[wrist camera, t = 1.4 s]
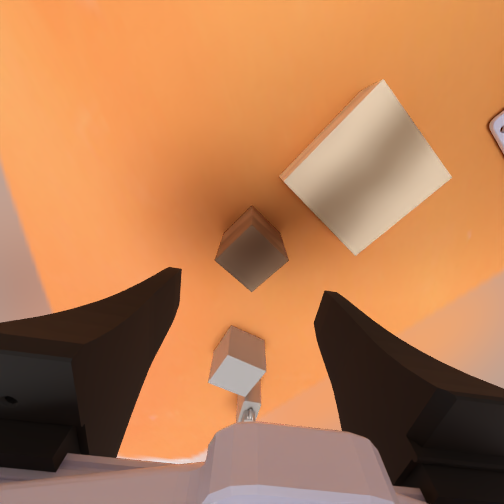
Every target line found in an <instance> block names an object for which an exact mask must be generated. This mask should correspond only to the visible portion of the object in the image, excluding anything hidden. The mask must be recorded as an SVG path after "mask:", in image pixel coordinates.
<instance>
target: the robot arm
mask: <svg viewBox="0 0 504 504" xmlns="http://www.w3.org/2000/svg"><path fill="white" fill-rule="evenodd" d="M502 126H503V130H502V131H501V132H500V129H501V127H502ZM489 128H490V130H491V132H492V134H493V136H494V138H495V139H496V141H497V143H498V145H499V147H500V148H501V150H502V152H503V154H504V110H503V111H502V112H501V113H500V114H498V115H497V116H496V117H495V118H493V120H492V121H491V122H490V125H489ZM181 271H182V269H179V268H172V267H168V268H166V269H164V270H162V271H161V272H159V273H157V274H155V275H154V276H152V277H150V278H148V279H146V280H145V281H143V282H141V283H139V284H137V285H135V286H133V287H131V288H129V289H127V290H125V291H122V292H120V293H118V294H115V295H113V296H110V297H108V298H105V299H102V300H100V301H97V302H94V303H90V304H87V305H84V306H80V307H77V308H74V309H70V310H66V311H62V312H58V313H53V314H48V315H44V316H39V317H33V318H27V319H21V320H15V321H9V322H2V323H0V504H504V389H503V388H500V387H498V386H496V385H493V384H490V383H488V382H486V381H483V380H481V379H478V378H476V377H473V376H470V375H468V374H466V373H464V372H462V371H460V370H457V369H455V368H453V367H451V366H449V365H447V364H444V363H442V362H440V361H438V360H436V359H434V358H433V357H431V356H429V355H427V354H425V353H423V352H421V351H419V350H418V349H416V348H414V347H412V346H411V345H409V344H407V343H406V342H404V341H402V340H401V339H399V338H398V337H396V336H395V335H393V334H392V333H390V332H389V331H387V330H386V329H384V328H383V327H382V326H380V325H379V324H377V323H376V322H375V321H373V320H372V319H371V318H369V317H368V316H367V315H366V314H364V313H363V312H362V311H360V310H359V309H358V308H357V307H355V306H354V305H353V304H352V303H350V302H349V301H348V300H347V299H345V298H344V297H343V296H341V295H340V294H338V293H337V292H331V291H324V294H323V297H322V300H321V303H320V306H319V309H318V312H317V315H316V318H315V321H314V327H315V333H316V338H317V342H318V345H319V348H320V351H321V354H322V357H323V360H324V363H325V366H326V369H327V372H328V375H329V378H330V381H331V384H332V388H333V391H334V395H335V400H336V404H337V409H338V413H339V418H340V423H341V428H342V431H337V430H328V429H320V428H310V427H302V426H293V425H284V424H275V423H266V422H258V421H253V422H236V423H234V424H232V425H230V426H228V427H225V428H223V429H221V430H219V431H218V432H217V433H216V434H215V436H214V437H213V439H212V440H211V442H210V444H209V445H208V451H207V458H206V461H205V462H197V463H187V464H171V463H161V462H151V461H141V460H131V459H121V458H116V457H117V454H118V451H119V448H120V445H121V442H122V439H123V437H124V434H125V431H126V428H127V425H128V423H129V420H130V417H131V414H132V412H133V409H134V406H135V404H136V401H137V398H138V396H139V393H140V390H141V388H142V385H143V383H144V380H145V378H146V375H147V373H148V370H149V368H150V366H151V364H152V361H153V359H154V357H155V355H156V354H157V352H158V350H159V348H160V346H161V344H162V342H163V340H164V338H165V336H166V334H167V332H168V330H169V328H170V326H171V325H172V323H173V320H174V318H175V315H176V312H177V309H178V306H179V302H180V286H181Z"/></svg>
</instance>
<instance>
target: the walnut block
mask: <svg viewBox="0 0 504 504" xmlns="http://www.w3.org/2000/svg"><path fill="white" fill-rule="evenodd" d="M215 261H216V262H217V263H218V264H220V265H221V266H222V267H223V268H224V269H225V270H227V271H228V272H229V273H230V274H231V275H232V276H234V277H235V278H236V279H237V280H238V281H239V282H241V283H242V284H243V285H244V286H245V287H246V288H248V289H249V290H250V291H251V292H252V291H254V290H255V289H256V288H257V287H258V286H259V285H261V284H262V283H263V282H264V281H265V280H266V279H268V278H269V277H270V276H271V275H272V274H273V273H275V272H276V271H277V270H278V269H279V268H281V267H282V266H283V265H284V264H285V263H286V262H288V261H289V260H288V256H287V253H286V250H285V247H284V244H283V240H282V237H281V234H280V233H279V232H278V231H277V230H276V229H275V228H274V227H273V226H272V225H271V224H270V223H269V222H268V221H267V220H266V219H265V218H264V217H263V216H262V215H261V214H260V213H259V212H258V211H257V210H256V209H255V208H254V207H253V206H251V207H250V208H249V209H248V210H247V211H246V212H245V213H244V214H243V215H242V216H241V217H240V218H239V219H238V220H237V221H236V222H235V223H234V224H233V225H232V226H231V227H230V228H229V229H228V230H227V231H226V232H225V233H224V234H223V237H222V240H221V243H220V246H219V249H218V252H217V255H216V258H215Z"/></svg>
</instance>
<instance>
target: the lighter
mask: <svg viewBox="0 0 504 504" xmlns="http://www.w3.org/2000/svg"><path fill="white" fill-rule="evenodd" d="M260 406H261V384H260V380H259V381H258V382H257V383H256V384H255V386H254V387H253V388H252V389H251V391H250V392H249V393H248V394H247V395H246V397H243V396H241V395H238V399H237V415H236V422H253V421H255V420H256V417H257V415H258V412H259V409H260Z"/></svg>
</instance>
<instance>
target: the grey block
mask: <svg viewBox="0 0 504 504" xmlns="http://www.w3.org/2000/svg"><path fill="white" fill-rule="evenodd" d="M265 372H266V358H265V342H264V340H262V339H260V338H258V337H256V336H254V335H251V334H249V333H247V332H245V331H243V330H240V329H238V328H236V327H234V326H232V325H231V326H230V328H229V329H228V331H227V332H226V334H225V335H224V337H223V338H222V340H221V341H220V343H219V344H218V346H217V347H216V349H215V350H214V353H213V359H212V364H211V369H210V375H209V380H208V383H210V384H213V385H215V386H218V387H220V388H223V389H226V390H228V391H231V392H233V393H236V394H238V395H241V396H243V397H246V395H247V394H248V393H249V392H250V391H251V389H252V388H253V387H254V386H255V384H256V383H257V382H258V381H259V380H260V378H261V377H262V376H263V375H264V373H265Z"/></svg>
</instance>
